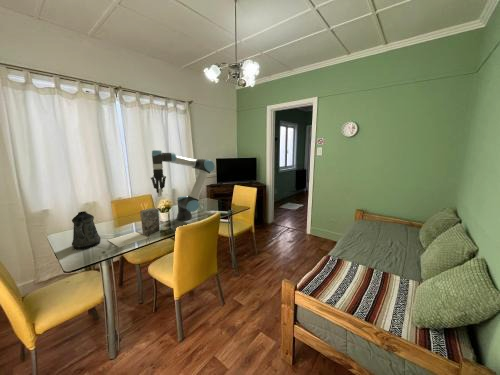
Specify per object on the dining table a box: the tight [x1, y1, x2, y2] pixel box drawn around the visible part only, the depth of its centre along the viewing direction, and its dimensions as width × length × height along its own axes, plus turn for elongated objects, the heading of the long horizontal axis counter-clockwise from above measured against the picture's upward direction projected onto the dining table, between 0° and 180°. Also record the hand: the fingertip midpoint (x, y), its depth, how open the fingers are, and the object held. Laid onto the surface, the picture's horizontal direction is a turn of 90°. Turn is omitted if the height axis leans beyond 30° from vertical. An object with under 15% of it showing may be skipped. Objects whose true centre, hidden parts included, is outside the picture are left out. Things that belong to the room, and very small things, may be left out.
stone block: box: [139, 207, 160, 236], centre depth 175 cm, size 13×7×20 cm, turn 147°
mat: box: [107, 231, 150, 249], centre depth 162 cm, size 22×20×1 cm
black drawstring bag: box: [71, 210, 102, 251], centre depth 149 cm, size 16×19×25 cm
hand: (159, 196), depth 179 cm, fingers closed
